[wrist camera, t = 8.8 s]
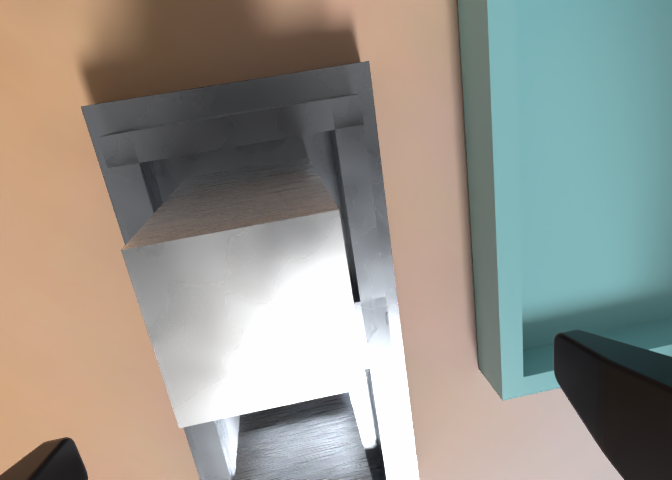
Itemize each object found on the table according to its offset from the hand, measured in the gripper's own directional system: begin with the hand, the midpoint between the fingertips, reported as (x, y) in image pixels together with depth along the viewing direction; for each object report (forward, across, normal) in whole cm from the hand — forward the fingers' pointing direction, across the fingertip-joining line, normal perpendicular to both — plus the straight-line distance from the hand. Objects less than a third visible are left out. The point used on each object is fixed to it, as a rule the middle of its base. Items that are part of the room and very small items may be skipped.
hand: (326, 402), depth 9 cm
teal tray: (+12, -17, 0) cm, 20 cm away
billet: (+10, +1, -1) cm, 10 cm away
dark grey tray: (+12, +1, +4) cm, 12 cm away
